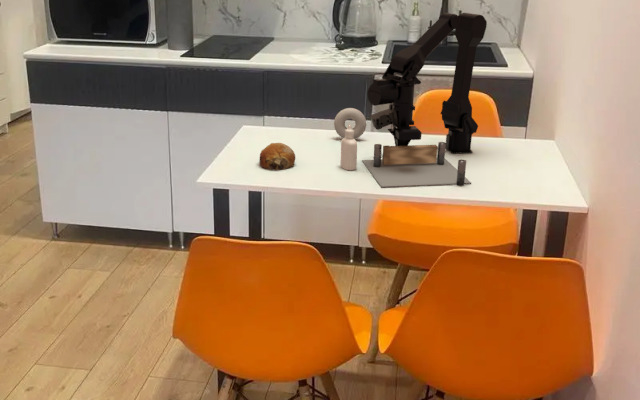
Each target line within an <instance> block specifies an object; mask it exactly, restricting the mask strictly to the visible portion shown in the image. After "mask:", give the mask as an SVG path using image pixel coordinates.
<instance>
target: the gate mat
mask: <svg viewBox="0 0 640 400" xmlns="http://www.w3.org/2000/svg"><path fill="white" fill-rule="evenodd" d="M382 160H383V158H381V167H373V162H374V159H362V160H361V162H362V163H363V165H364V166H365V168H366V169H367V170H368V171H369V173H370V174H371V176H372V177H373V179H374V180H375V181H376V183H377V184H378V185H379V187H380V188H381V189H385V188H386V189H387V188H388V189H389V188H409V187H410V188H411V187H413V188H415V187H436V186H438V187H439V186H458V185H457V183H456V182H457V171H458V168H456V167H455V166H454V165H453V164H452V163H451V162H450V161H448V159H446V158H445V159H444V165H438V164H437V158H436V163H417V164H389V165H383V163H382ZM464 185H472V182H471V181H470V180H469V179H468V178H467V177H466V176H465V181H464Z"/></svg>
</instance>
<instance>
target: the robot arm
mask: <svg viewBox="0 0 640 400" xmlns="http://www.w3.org/2000/svg"><path fill="white" fill-rule="evenodd" d="M487 25H488V24H487V19H486V18H485V17H484V16H483V15H481V14H476V13H470V12H462V13H460V15H458V14H456V13H450V12H443V13H441V14H440V15H439V17H438V19H437V20H436V22H434V23H433V24H432V25H431V26H430V27H429V28H428V29H427V30H426V31H425V32H424V34H422V35H421V36H420V37H419V38H418V39H417V40H416V41H415V42H414V43H413V44H412V45H410V46H408V47H406V48H402V49H401V50H399V51H398V52H397V53H396V54H394V55H393V56H392V58H391V59H390V63H389V64H388V66H387V68H386V69H385V71H384V73H383V74H382V77H381V78H379V79H378V78H376V79H373V80H372V84H370V85H369V87H368V89H367V93H366V94H367V99H368V102H369V103H370V104H371V105H372V106H381V105H388V108H387V109H384V110H380V111H378V112H376V113H373V114H371V115H370V119H371V123H372V126H373V128H375V130H381V129H382V128H384V127H385V128H386V127H387V126H390V128H387V130H388V132H389V133H390V134H391V135H392V136H393V140H394V146H409V144H410V142H411V141H418V140H422V133H423V132H422V131H421V130H420V128H419V127H417V126H416V125H415V121H414V119H413V114H414V113H413V111H416V106H415V105H414V100H415V99H414V98H415V85H421V84H422V81H421V80H420V79H419V78H418V77H417V75H418V74H420V72H421V70H422V69H423V67H424V66H425V61H426V58H427V57H428V56H429V55H430V54H431V53H432V52H433V51H434V50H435V49H436V48H437V47H438V46H439V45H440V44H441V43H442V42H443V41H444V40H445V39H446V38H447V37H448V36H449V34H451V33H452V32H453V31H454V35H455V38H456V41H457V44H458V45H457V47H458V48H457V55H456V62H455V68H454V74H453V83H452V88H451V94H450V96H449V97H448V99H447V100H443V101H442V104H441V105H442V107H441V112H440V115H441V121H443V126H444V129H448V132H447V133H448V134H446V136H445V143H446V147H445V150H446V151H448V152H449V153H451V154H472V153H473V150H472V149H471V146H472V139H473V138H472V137H473V134H475V133H477V131H478V129H479V124H478V123H477V122H476V120H475V119H474V118H473V107H472V103H471V100H470V98H469V96H470V90H471V84H472V78H473V77H472V76H473V70H474V64H475V58H476V51H477V47H478V46H479V44H480V43H481V42H482V40H483V39H484V37H485V33H486V29H487V27H488V26H487Z"/></svg>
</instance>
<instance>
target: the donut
mask: <svg viewBox="0 0 640 400" xmlns="http://www.w3.org/2000/svg"><path fill="white" fill-rule="evenodd" d="M348 120H353V121H354V123H355V125H354V127H353V128H352V129H353V130H354V139H355V140H356V139H359V138H360V137H361V136H362V135H364V133H365V131H366V128H367V119H366V116H365V115H364V114H363V112H361V110H359V109H356V108H353V107H347V108H343V109H342V110H340V111H339V112H338V113H336V116H335V118H334V121H333V126H334V127H333V128H334V130H335V133H336V134H337V135H338V136H339V137H341V139H343V138H345V130H346V129H348V127H347V126H346V121H348Z"/></svg>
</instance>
